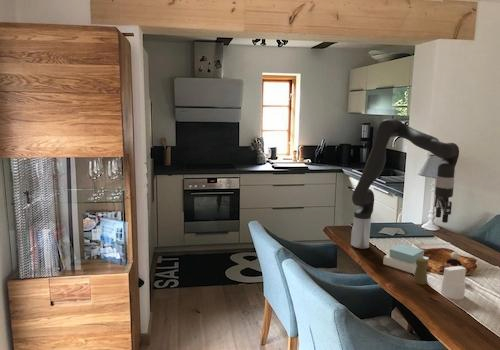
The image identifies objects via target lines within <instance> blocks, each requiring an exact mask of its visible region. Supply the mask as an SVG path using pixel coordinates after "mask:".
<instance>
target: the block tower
mask: <svg viewBox="0 0 500 350" xmlns="http://www.w3.org/2000/svg"><path fill="white" fill-rule="evenodd" d="M424 252H425V250H424V249H421V248H418V247H414V246H411V245H408V244H404V243H400V244H398V245H396V246H393V247H391V248H390V249H389V253H388V254H386V255H383V263H382V264H383V265H385V266H389V267H391V268H395V269H397V270H400V271H403V272H407V273H410V274H413V275H415V271H416V267H417V265H416V260H417V259H418V258H424V259H426V260H430V258H429V256H424V255H425V254H424Z"/></svg>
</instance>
